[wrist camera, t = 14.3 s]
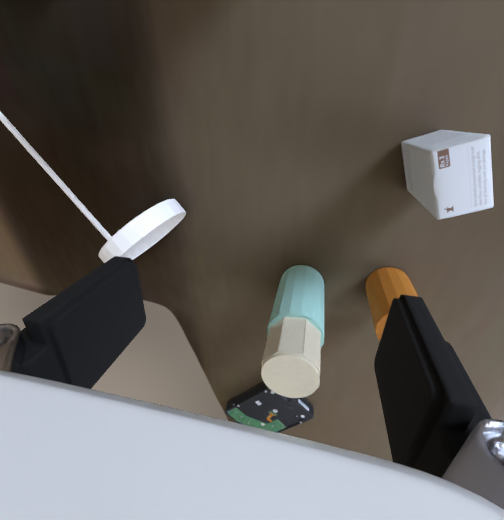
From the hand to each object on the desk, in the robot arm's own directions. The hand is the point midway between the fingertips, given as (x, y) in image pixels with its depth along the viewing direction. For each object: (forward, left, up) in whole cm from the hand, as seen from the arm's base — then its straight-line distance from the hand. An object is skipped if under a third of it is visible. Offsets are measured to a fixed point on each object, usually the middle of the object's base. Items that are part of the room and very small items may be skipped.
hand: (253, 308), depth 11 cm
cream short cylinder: (+12, -12, -18) cm, 25 cm away
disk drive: (+28, -36, -31) cm, 55 cm away
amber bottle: (+20, -3, -30) cm, 36 cm away
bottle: (+12, -12, -30) cm, 35 cm away
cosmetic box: (+9, +10, -31) cm, 33 cm away
